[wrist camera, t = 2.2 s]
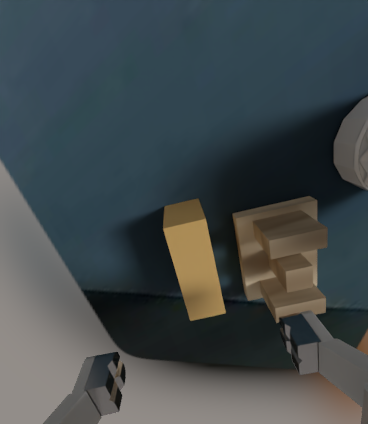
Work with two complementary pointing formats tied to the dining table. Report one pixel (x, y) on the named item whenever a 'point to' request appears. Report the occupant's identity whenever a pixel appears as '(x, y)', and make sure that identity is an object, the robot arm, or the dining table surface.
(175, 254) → the tan rectangular block
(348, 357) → the robot arm
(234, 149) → the dining table surface
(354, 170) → the white cup
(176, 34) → the dining table surface
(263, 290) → the display stand
